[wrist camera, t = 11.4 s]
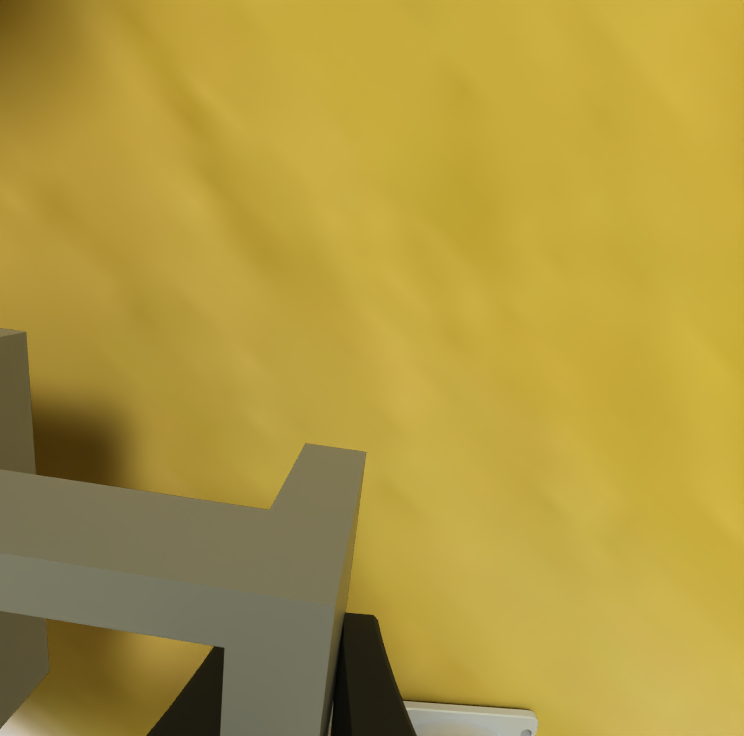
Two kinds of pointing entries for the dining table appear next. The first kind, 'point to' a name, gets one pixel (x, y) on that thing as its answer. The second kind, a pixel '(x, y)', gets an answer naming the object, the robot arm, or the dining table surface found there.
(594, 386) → the dining table surface
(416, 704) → the robot arm
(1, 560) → the grey open rectangular frame
